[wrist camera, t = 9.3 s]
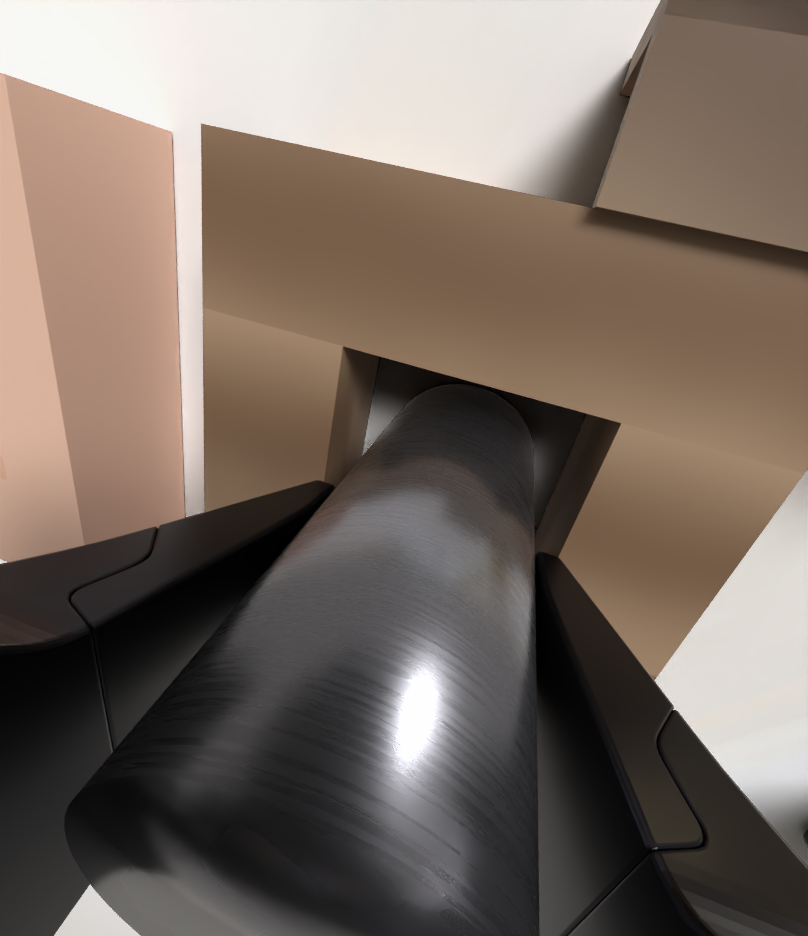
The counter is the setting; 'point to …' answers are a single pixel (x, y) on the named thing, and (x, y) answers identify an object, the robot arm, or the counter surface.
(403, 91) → the counter surface
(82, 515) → the block
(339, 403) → the socket block
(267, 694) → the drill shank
